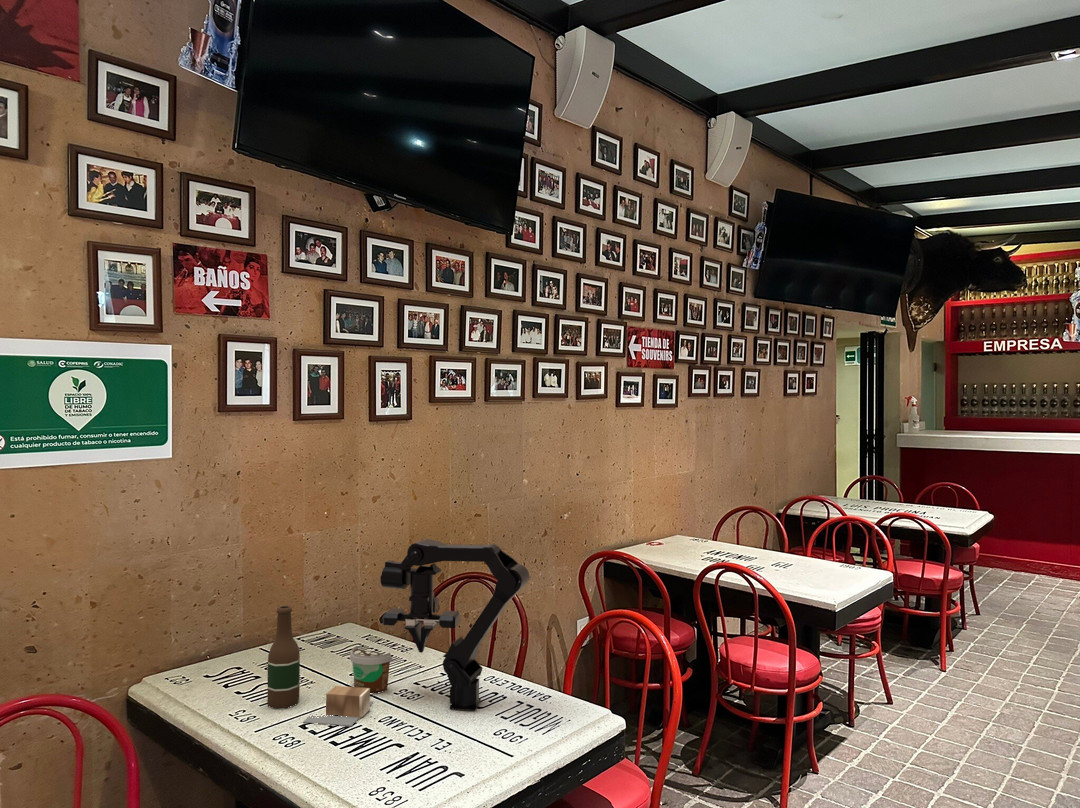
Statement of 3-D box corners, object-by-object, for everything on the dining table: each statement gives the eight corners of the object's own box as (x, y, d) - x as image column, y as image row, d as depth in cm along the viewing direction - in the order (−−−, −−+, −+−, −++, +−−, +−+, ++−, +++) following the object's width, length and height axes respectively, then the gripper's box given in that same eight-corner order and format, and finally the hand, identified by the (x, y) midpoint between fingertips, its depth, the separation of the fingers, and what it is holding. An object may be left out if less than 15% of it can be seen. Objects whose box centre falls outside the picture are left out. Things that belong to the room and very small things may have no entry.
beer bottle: (289, 711, 178) (290, 612, 178) (260, 708, 179) (261, 610, 179) (305, 698, 185) (306, 603, 185) (278, 695, 187) (278, 601, 187)
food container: (339, 690, 191) (339, 651, 191) (355, 682, 196) (355, 645, 196) (376, 699, 185) (376, 659, 185) (391, 691, 191) (392, 652, 191)
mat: (373, 702, 183) (373, 701, 183) (351, 726, 169) (351, 725, 169) (328, 699, 185) (328, 698, 185) (302, 723, 171) (302, 721, 171)
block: (370, 688, 179) (335, 685, 180) (361, 696, 174) (326, 693, 175) (369, 708, 179) (335, 706, 180) (361, 717, 174) (326, 714, 175)
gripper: (465, 584, 192) (464, 643, 192) (396, 581, 195) (396, 640, 194) (454, 595, 181) (454, 658, 181) (382, 592, 183) (381, 654, 183)
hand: (421, 652), depth 185 cm, fingers closed
